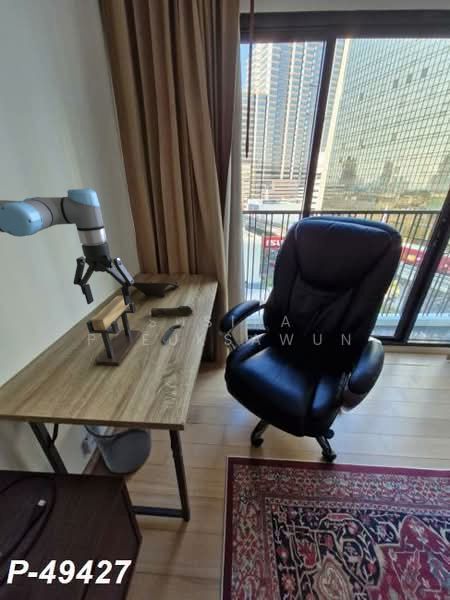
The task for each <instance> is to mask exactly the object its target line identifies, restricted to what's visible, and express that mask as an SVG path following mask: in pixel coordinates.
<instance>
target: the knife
mask: <svg viewBox="0 0 450 600" xmlns="http://www.w3.org/2000/svg"><path fill="white" fill-rule="evenodd" d="M181 327H182V325H181V323H180V324H174V325H172V326H171V327H170V328H169V329H168V330H167V332H166V334H165V335H164V337H162V341H163V343H164V344H165V345H166V344H167V343H168V342H169V340H170V339H171V338H172V336H173V335H174V333H175V331H176V329H177V328H181Z"/></svg>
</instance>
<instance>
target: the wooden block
mask: <svg viewBox="0 0 450 600" xmlns="http://www.w3.org/2000/svg"><path fill="white" fill-rule="evenodd" d="M110 301H111V302H110ZM110 301H109V302H110V303H109V302H108V303H109V304H108V303H107V305H105V306H104V307H103V308H102V309H101V310H100V311H99V312H98V313H97V314H95V316H93V317H92V318H91V319H90V320H91V321H92V324H93V327H94V330H97V331H108V330H109V329H110V328H112V327H111V323H112V322H113V321H117V322H118V320H119V319H121V315H122V314H123V313H124V312H125V311H126V310H127V309H128V308H129V304H128V305H125V303H124V298H123V295H116V296H115V297H114V298H113V299H112V300H110Z"/></svg>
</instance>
